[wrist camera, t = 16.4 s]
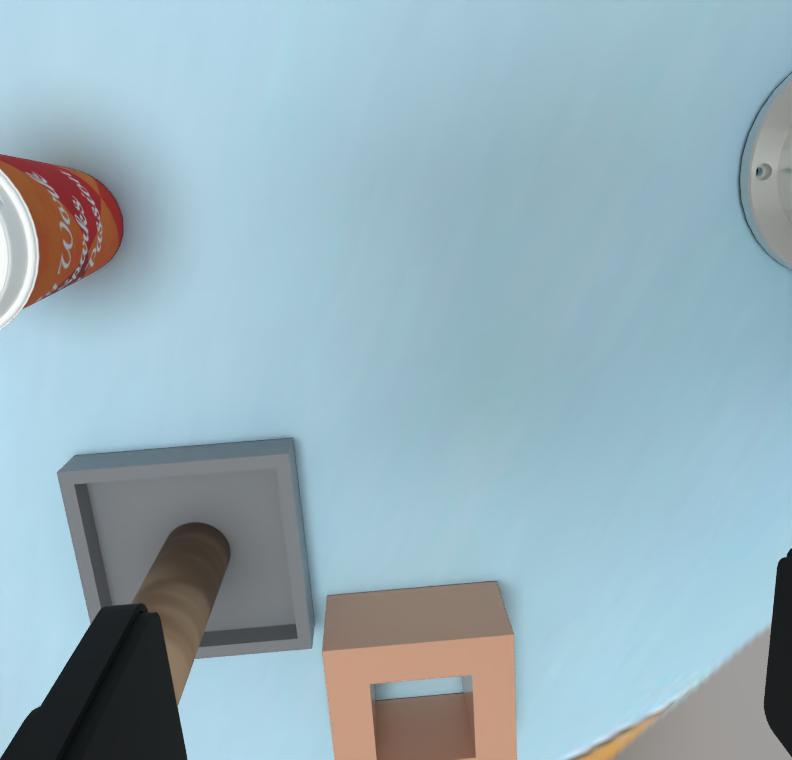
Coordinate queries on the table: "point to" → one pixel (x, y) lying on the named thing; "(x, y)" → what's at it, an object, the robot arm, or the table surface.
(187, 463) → the tray
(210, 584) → the dowel pin
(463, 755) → the well block
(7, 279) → the paper cup
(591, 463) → the table surface
